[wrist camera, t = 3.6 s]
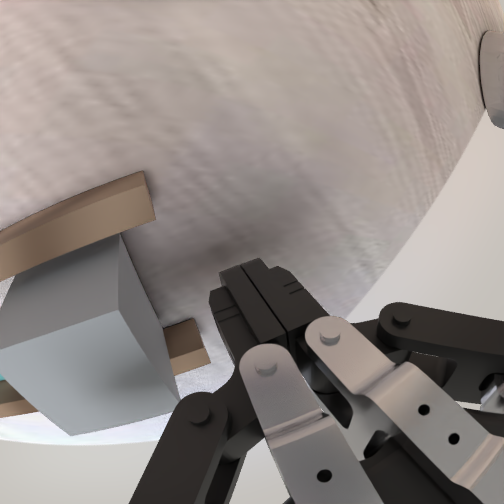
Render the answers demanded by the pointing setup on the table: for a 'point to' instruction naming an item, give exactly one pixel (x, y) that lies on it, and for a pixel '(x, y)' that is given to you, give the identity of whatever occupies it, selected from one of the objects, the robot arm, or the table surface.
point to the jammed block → (86, 341)
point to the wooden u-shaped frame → (78, 235)
